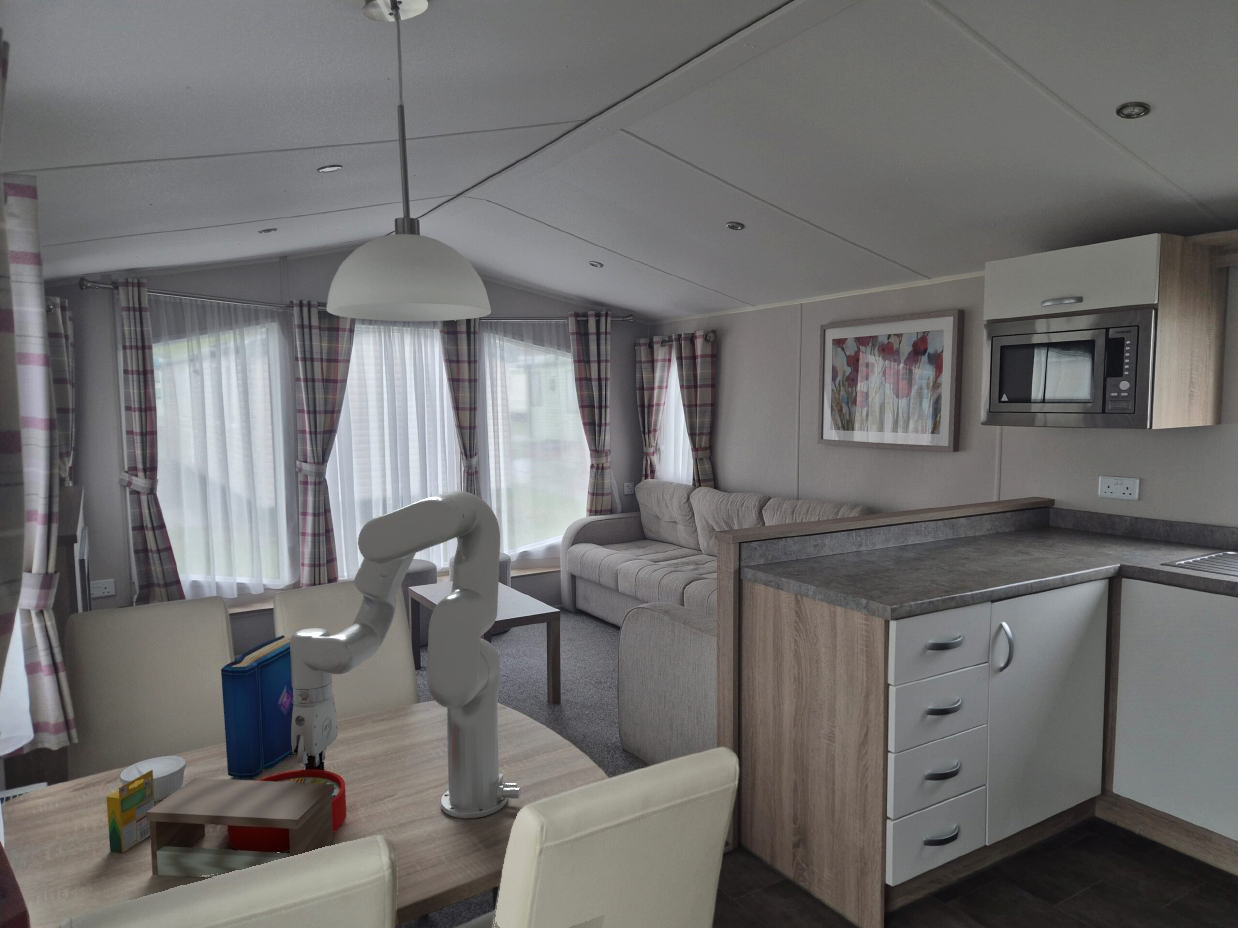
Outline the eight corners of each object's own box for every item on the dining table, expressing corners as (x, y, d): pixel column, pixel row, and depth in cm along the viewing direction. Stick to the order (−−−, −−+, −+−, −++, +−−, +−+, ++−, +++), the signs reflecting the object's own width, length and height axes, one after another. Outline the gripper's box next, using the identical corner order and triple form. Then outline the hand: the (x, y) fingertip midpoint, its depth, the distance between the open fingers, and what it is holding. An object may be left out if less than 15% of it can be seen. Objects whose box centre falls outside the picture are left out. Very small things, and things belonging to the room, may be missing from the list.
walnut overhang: (335, 842, 136) (333, 783, 136) (300, 883, 124) (297, 819, 124) (197, 834, 139) (194, 777, 139) (149, 874, 127) (146, 811, 127)
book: (251, 784, 158) (246, 664, 157) (221, 782, 160) (215, 662, 158) (313, 741, 179) (309, 634, 178) (286, 739, 181) (282, 633, 179)
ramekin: (107, 804, 151) (105, 777, 151) (153, 778, 162) (152, 753, 162) (155, 809, 149) (154, 783, 148) (199, 782, 159) (198, 757, 159)
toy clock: (327, 759, 157) (360, 798, 140) (328, 788, 157) (361, 829, 141) (216, 789, 145) (239, 834, 129) (218, 819, 145) (240, 868, 129)
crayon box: (143, 829, 141) (140, 767, 141) (157, 831, 141) (154, 768, 140) (108, 851, 134) (105, 786, 133) (122, 853, 133) (119, 787, 133)
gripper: (310, 706, 146) (313, 801, 147) (348, 680, 161) (350, 766, 162) (273, 705, 147) (276, 799, 148) (313, 678, 162) (316, 764, 163)
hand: (315, 781), depth 155 cm, fingers closed
